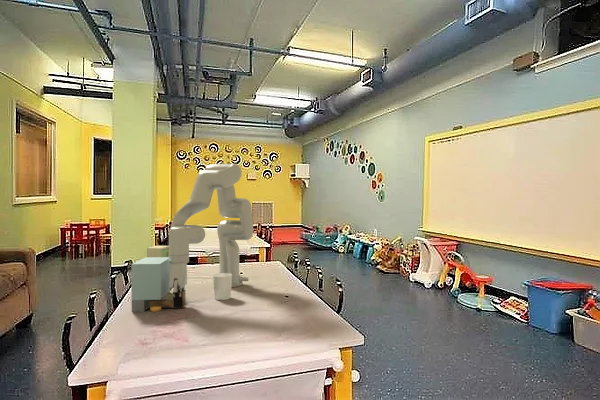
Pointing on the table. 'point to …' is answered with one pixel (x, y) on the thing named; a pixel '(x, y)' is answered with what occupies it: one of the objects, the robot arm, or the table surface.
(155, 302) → the brown boxy piece
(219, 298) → the white cup
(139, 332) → the table surface
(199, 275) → the table surface
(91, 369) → the table surface
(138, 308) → the cabinet
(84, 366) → the table surface
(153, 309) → the orange round disc
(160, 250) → the toy refrigerator
